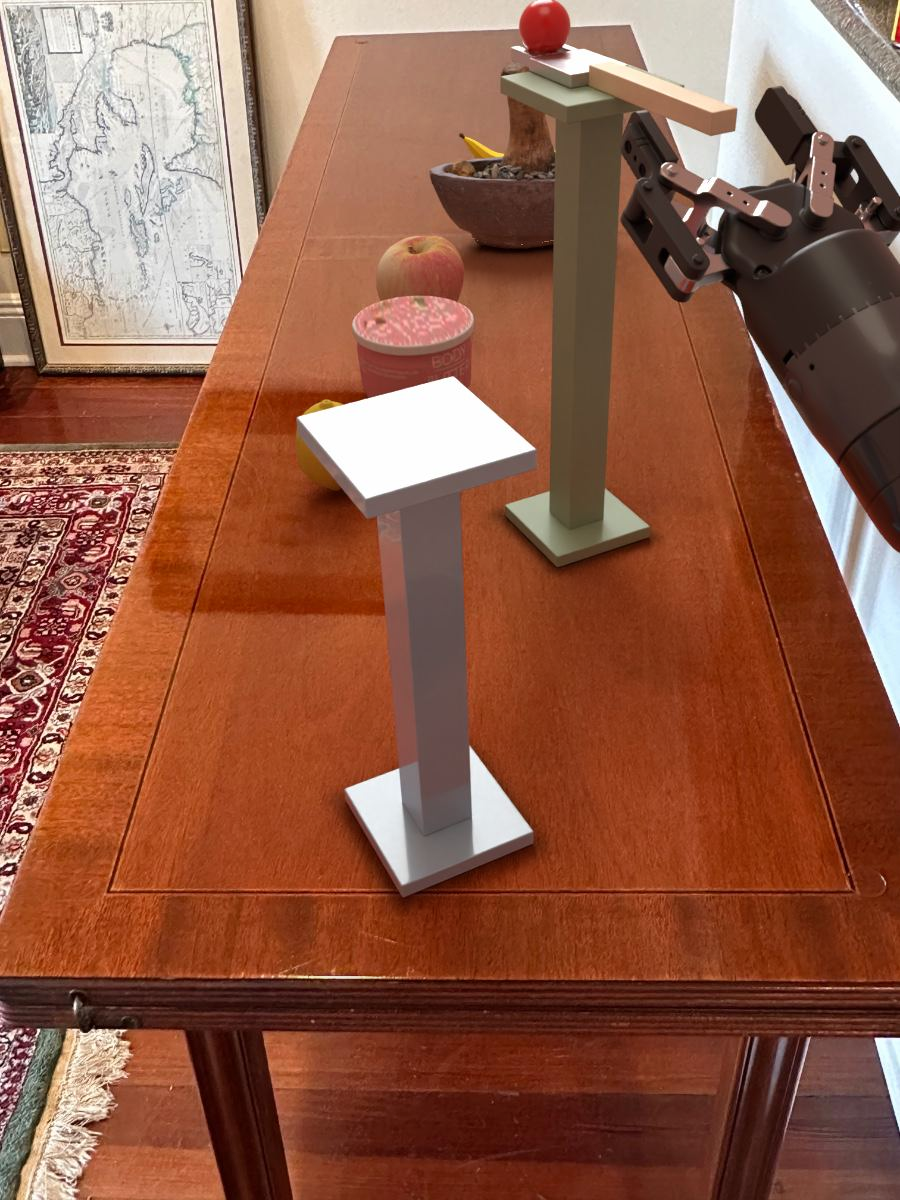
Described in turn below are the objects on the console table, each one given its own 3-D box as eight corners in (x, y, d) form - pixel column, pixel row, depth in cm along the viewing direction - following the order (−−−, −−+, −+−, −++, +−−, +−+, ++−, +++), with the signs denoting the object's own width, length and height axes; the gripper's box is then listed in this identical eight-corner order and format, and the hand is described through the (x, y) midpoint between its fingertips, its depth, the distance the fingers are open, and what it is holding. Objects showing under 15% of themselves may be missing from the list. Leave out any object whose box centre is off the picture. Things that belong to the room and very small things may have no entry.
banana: (607, 177, 154) (610, 127, 151) (461, 187, 153) (460, 136, 150) (603, 170, 157) (605, 120, 153) (459, 180, 156) (458, 130, 152)
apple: (468, 302, 125) (466, 226, 120) (460, 338, 118) (458, 260, 113) (386, 301, 125) (380, 226, 121) (373, 338, 118) (367, 260, 114)
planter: (425, 247, 137) (416, 61, 125) (528, 209, 146) (528, 32, 134) (516, 281, 128) (515, 85, 116) (620, 239, 137) (629, 52, 125)
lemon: (291, 504, 95) (279, 415, 90) (314, 468, 99) (303, 381, 94) (358, 511, 93) (349, 421, 88) (378, 475, 98) (371, 387, 93)
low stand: (534, 843, 66) (537, 449, 51) (402, 898, 63) (365, 499, 48) (468, 753, 72) (453, 375, 57) (345, 800, 69) (295, 416, 54)
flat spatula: (754, 127, 63) (762, 54, 60) (691, 140, 61) (697, 65, 59) (558, 52, 77) (559, -10, 75) (504, 60, 76) (503, -2, 74)
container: (466, 371, 112) (464, 290, 107) (484, 424, 104) (483, 339, 99) (355, 382, 111) (347, 300, 106) (364, 437, 103) (356, 351, 98)
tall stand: (649, 537, 89) (685, 84, 70) (557, 568, 86) (567, 106, 67) (592, 487, 95) (611, 57, 75) (504, 515, 92) (499, 76, 73)
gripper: (1012, 271, 57) (840, 32, 62) (771, 336, 52) (607, 72, 57) (926, 365, 64) (777, 142, 69) (706, 431, 59) (564, 186, 64)
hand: (700, 111), depth 63 cm, fingers open, 8 cm apart
